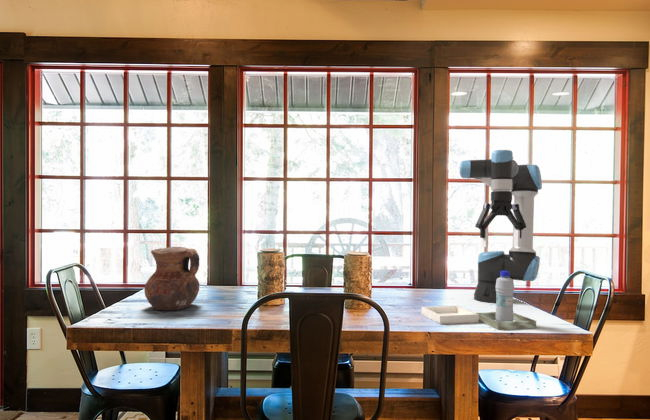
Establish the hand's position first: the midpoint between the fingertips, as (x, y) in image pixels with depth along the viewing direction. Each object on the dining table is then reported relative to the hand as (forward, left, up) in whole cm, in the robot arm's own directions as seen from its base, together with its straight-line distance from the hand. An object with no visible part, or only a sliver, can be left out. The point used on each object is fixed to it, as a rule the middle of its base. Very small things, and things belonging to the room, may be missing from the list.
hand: (500, 246), depth 173 cm
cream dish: (+16, -10, -29) cm, 34 cm away
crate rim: (-1, +1, -29) cm, 29 cm away
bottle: (-1, +1, -29) cm, 29 cm away
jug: (+124, -48, -29) cm, 136 cm away
